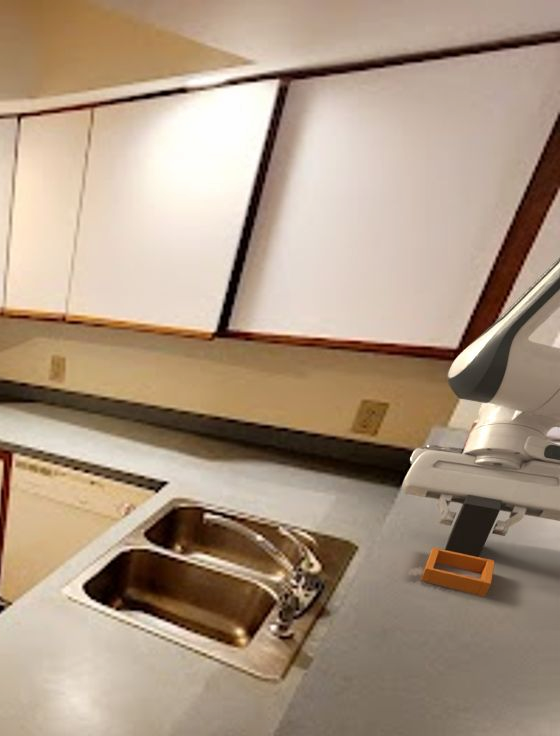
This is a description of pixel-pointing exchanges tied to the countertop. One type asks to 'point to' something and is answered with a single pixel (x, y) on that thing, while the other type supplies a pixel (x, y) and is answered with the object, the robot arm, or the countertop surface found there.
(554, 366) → the robot arm
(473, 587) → the orange rectangular frame
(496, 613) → the countertop surface
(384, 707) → the countertop surface
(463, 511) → the black rectangular block
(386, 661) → the countertop surface
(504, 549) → the countertop surface
